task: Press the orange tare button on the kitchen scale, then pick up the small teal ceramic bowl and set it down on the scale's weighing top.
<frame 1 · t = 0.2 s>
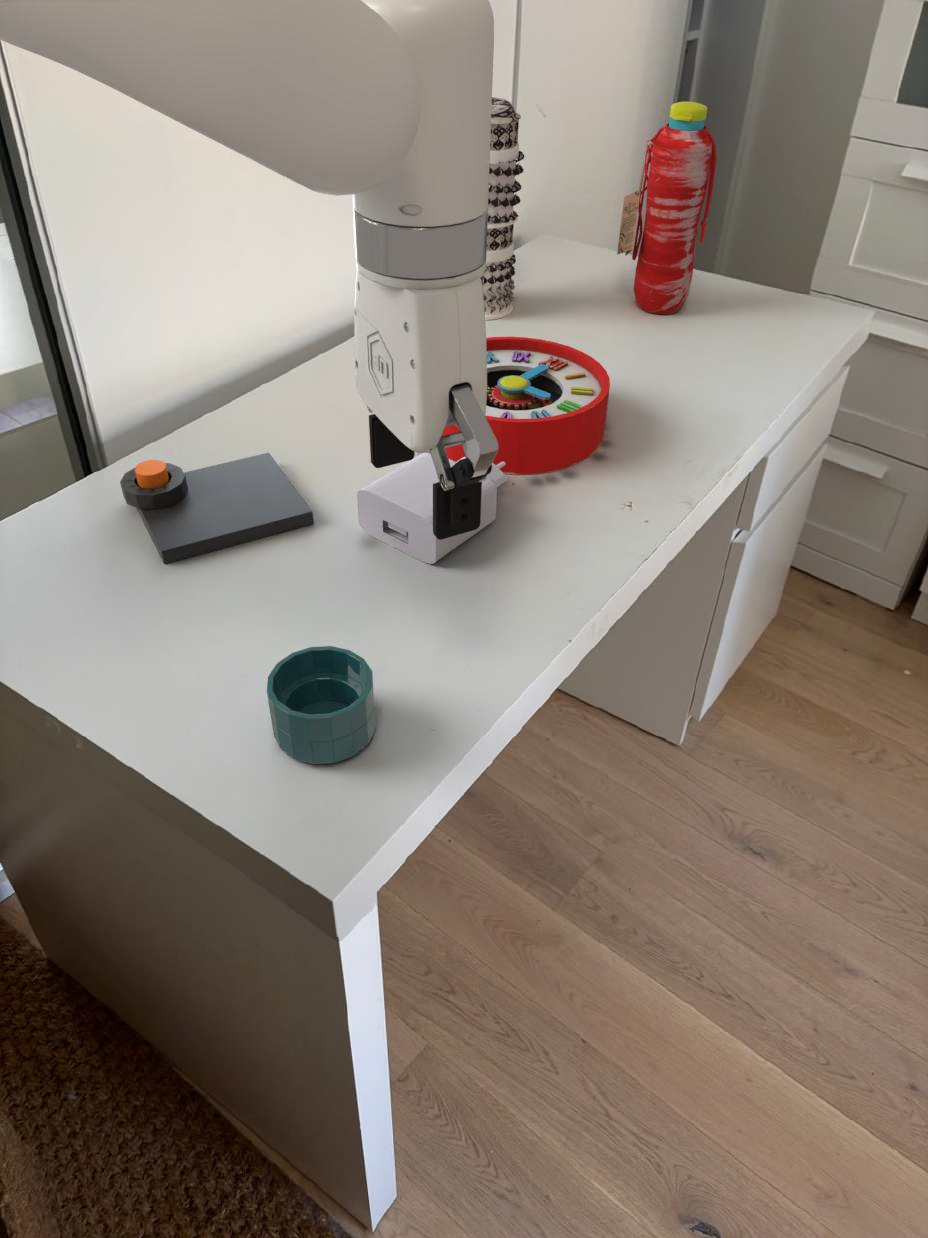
hand: (423, 495, 66), 15 cm above the table, tool pointing down, fingers open, 9 cm apart
bowl: (325, 731, 70), on the table
toy clock: (511, 427, 105), on the table
charger: (448, 515, 92), on the table
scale: (221, 510, 91), on the table
tare button: (151, 474, 89), point 3 cm above the table, slide at 0.1 cm
decorative candle: (481, 309, 130), on the table
water bottle: (648, 306, 132), on the table
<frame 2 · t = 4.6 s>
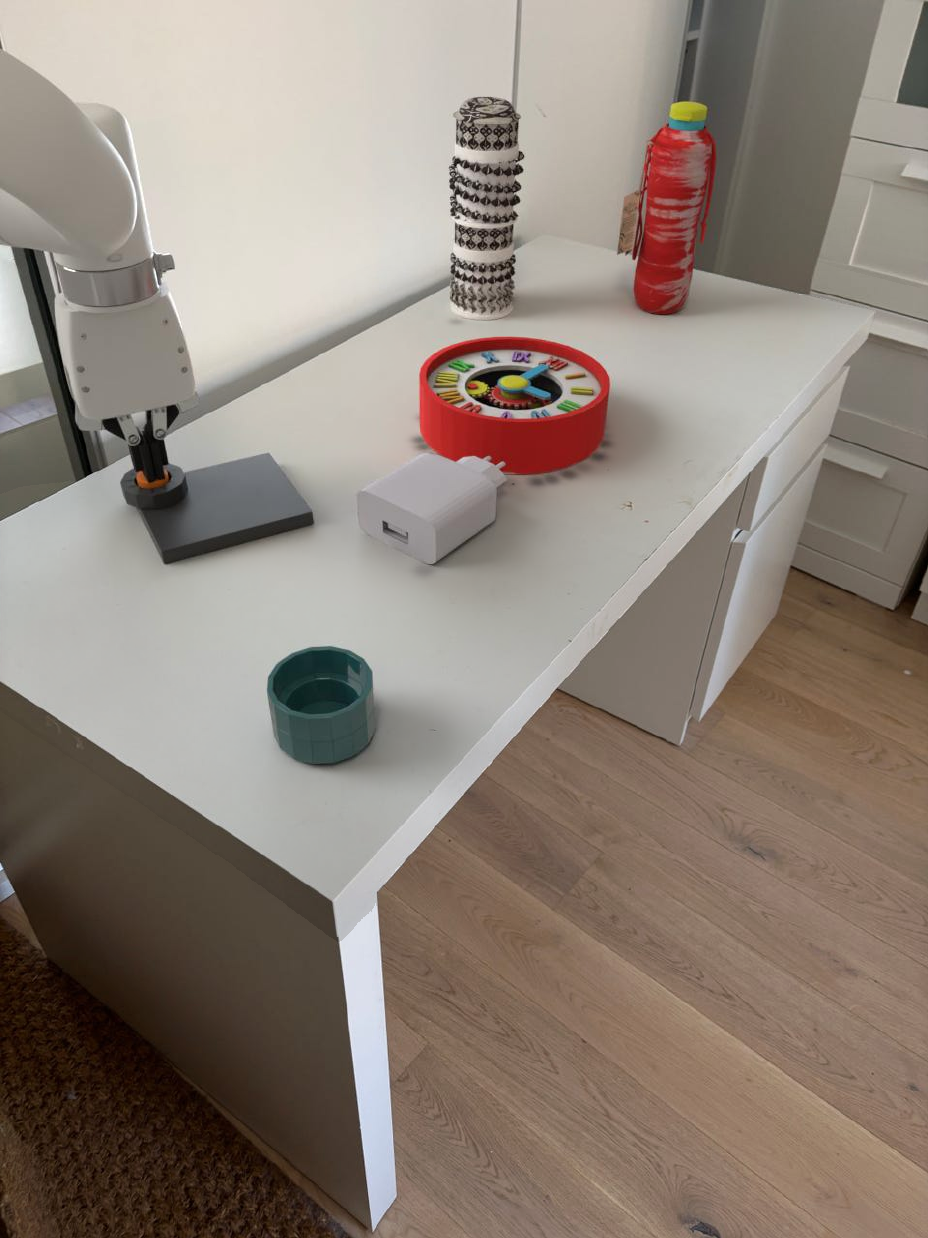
hand: (152, 473, 90), 3 cm above the table, tool pointing down, fingers closed
tare button: (153, 481, 90), point 3 cm above the table, slide at -0.7 cm, touching gripper
everything else where it was.
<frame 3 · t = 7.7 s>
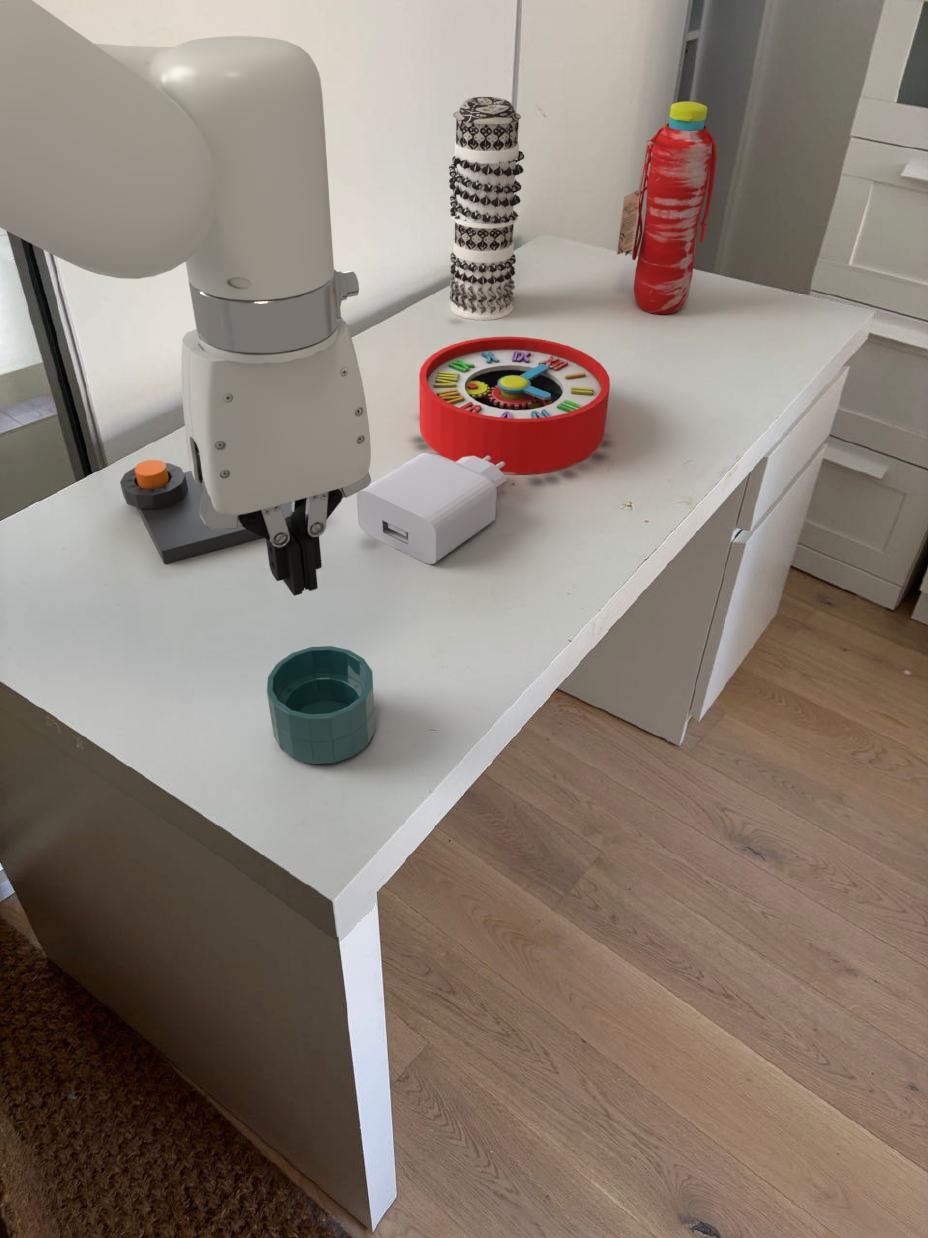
hand: (297, 580, 63), 12 cm above the table, tool pointing down, fingers closed
tare button: (151, 474, 89), point 3 cm above the table, slide at 0.1 cm
everything else where it was.
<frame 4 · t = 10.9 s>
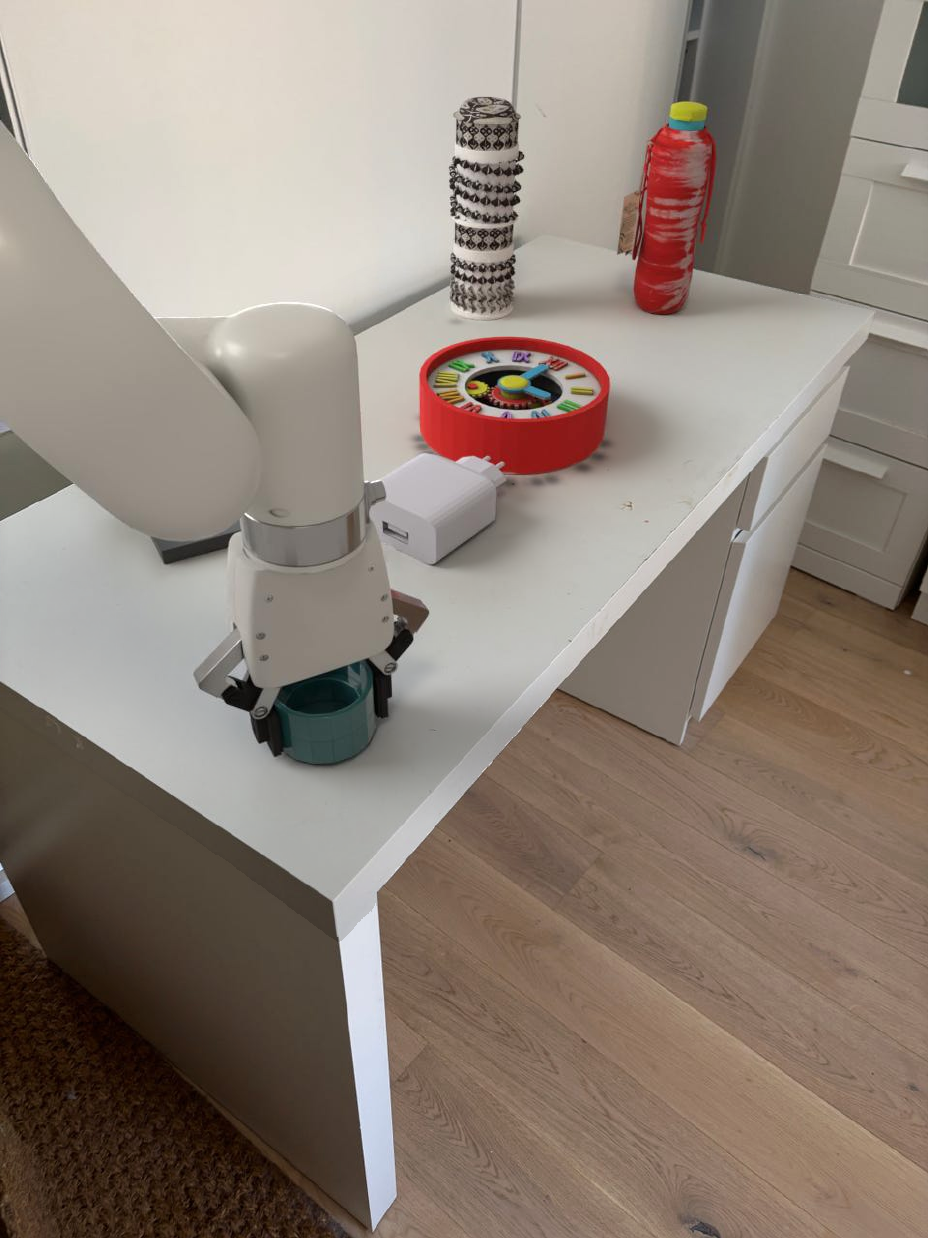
hand: (324, 722, 69), 1 cm above the table, tool pointing down, fingers closed on bowl, 7 cm apart
bowl: (325, 731, 70), on the table, touching gripper
everything else where it was.
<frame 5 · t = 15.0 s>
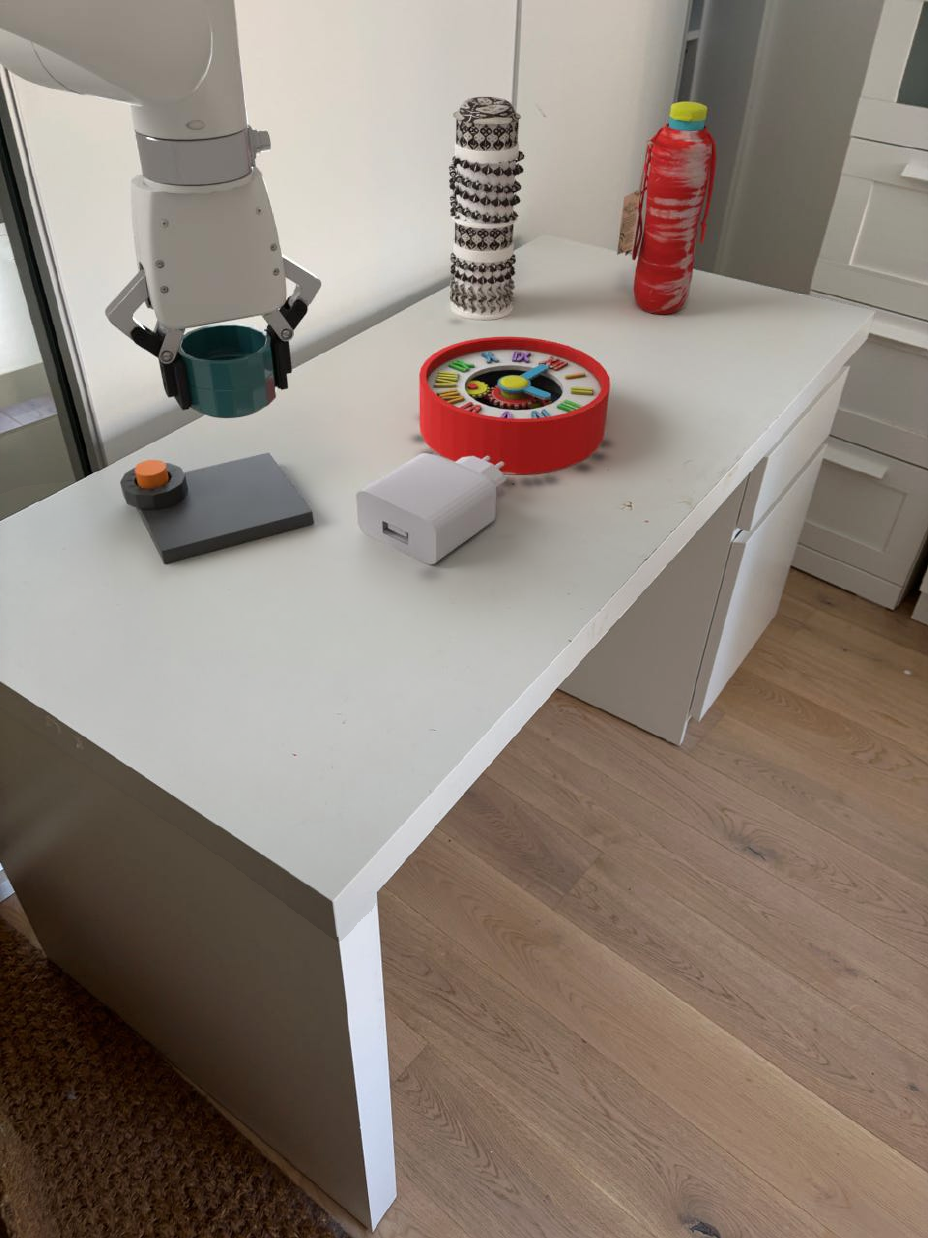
hand: (230, 391, 78), 15 cm above the table, tool pointing down, fingers closed on bowl, 7 cm apart
bowl: (232, 400, 78), point 14 cm above the table, touching gripper
everything else where it was.
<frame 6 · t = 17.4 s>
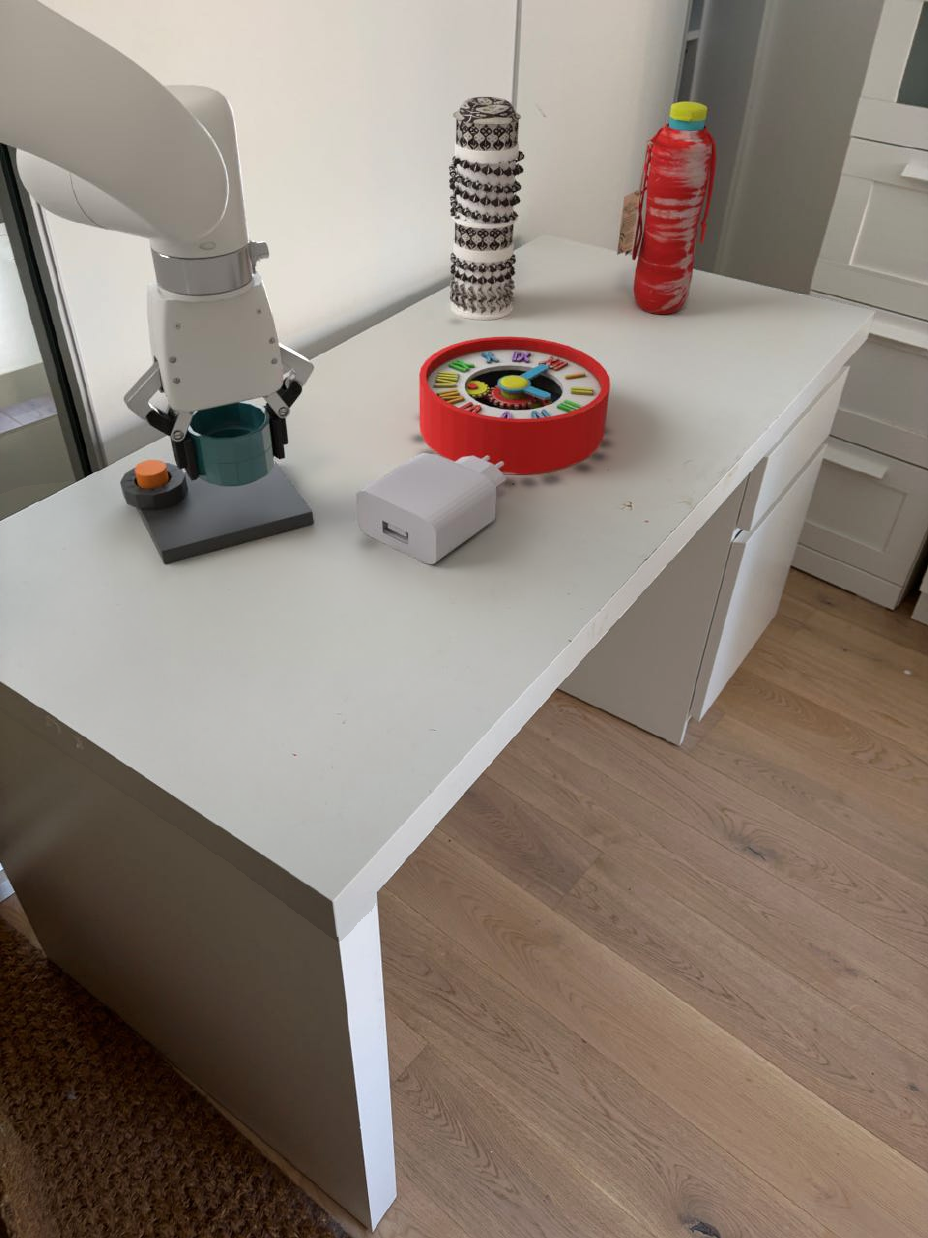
hand: (233, 461, 87), 6 cm above the table, tool pointing down, fingers closed on bowl, 7 cm apart
bowl: (235, 469, 88), point 5 cm above the table, touching gripper
everything else where it was.
when the fingers open (2 cm above the table, at t = 19.1 s): bowl stays where it is, resting on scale.
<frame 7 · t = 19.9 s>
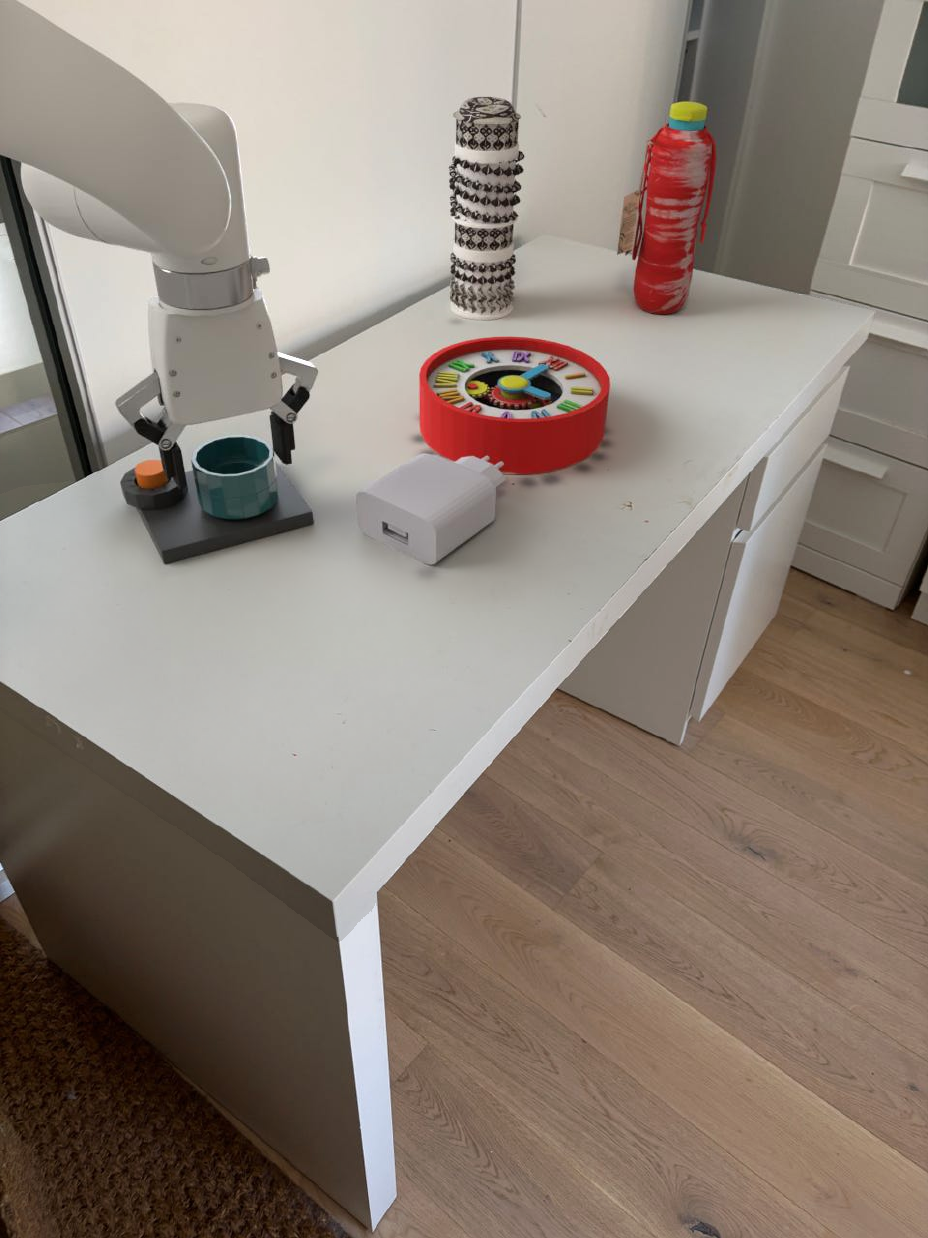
hand: (231, 469, 87), 5 cm above the table, tool pointing down, fingers open, 9 cm apart
bowl: (239, 502, 90), point 1 cm above the table, touching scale
everything else where it was.
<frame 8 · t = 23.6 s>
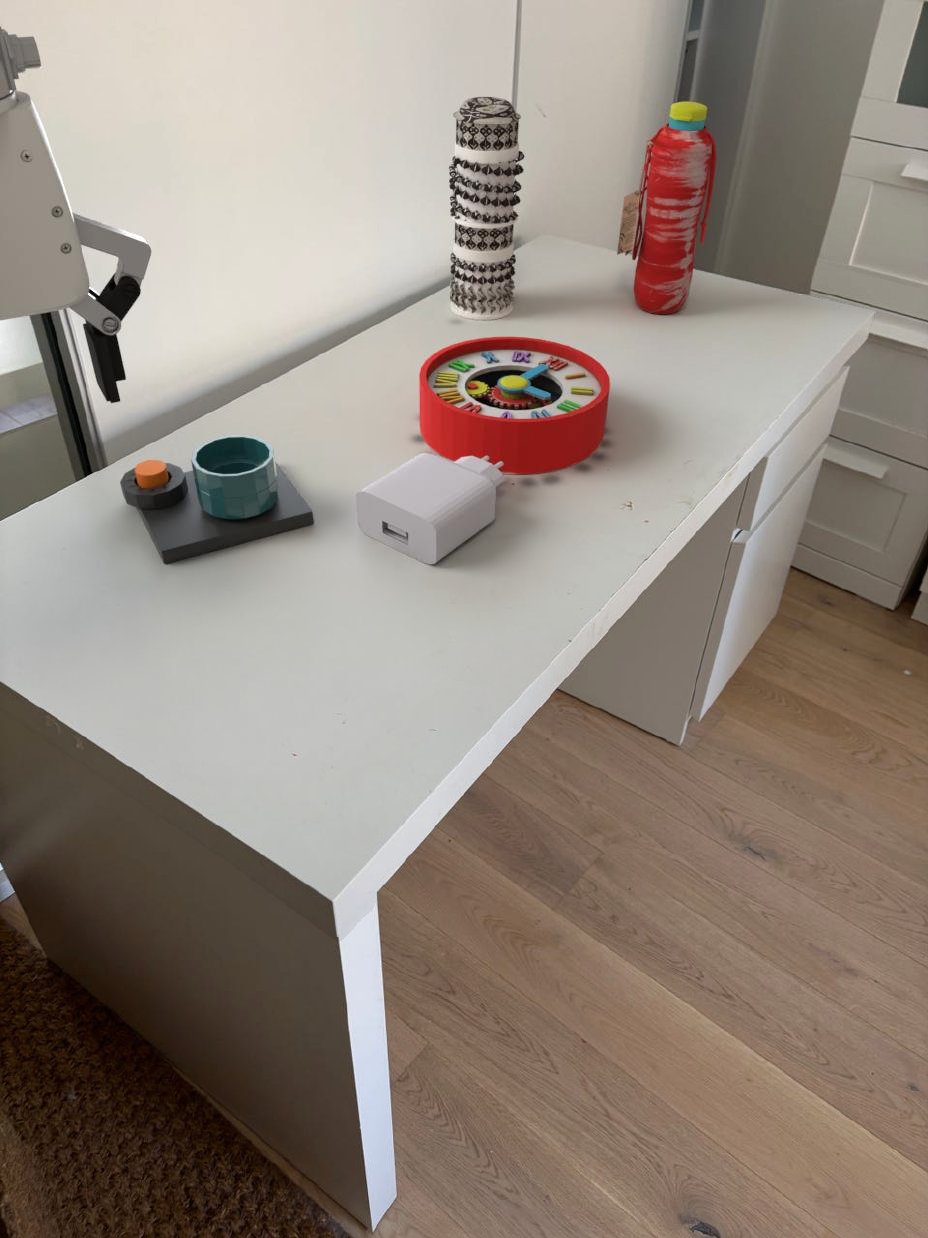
hand: (23, 410, 55), 24 cm above the table, tool pointing down, fingers open, 9 cm apart
nothing on the table moved.
at the end: tare button pushed in 0.9 cm at the most during the clip, back to where it started at the end; tare button slide at 0.1 cm; bowl 0.0 cm from the target spot on the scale, point 1.4 cm above the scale's base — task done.
